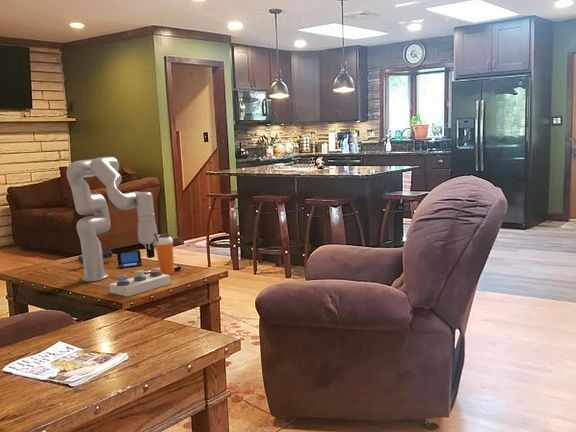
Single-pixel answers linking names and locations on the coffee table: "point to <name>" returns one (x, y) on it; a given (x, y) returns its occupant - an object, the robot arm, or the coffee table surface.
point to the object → (129, 259)
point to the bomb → (105, 255)
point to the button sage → (139, 272)
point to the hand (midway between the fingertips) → (151, 257)
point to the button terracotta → (155, 270)
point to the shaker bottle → (165, 254)
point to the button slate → (122, 277)
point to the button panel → (140, 284)
